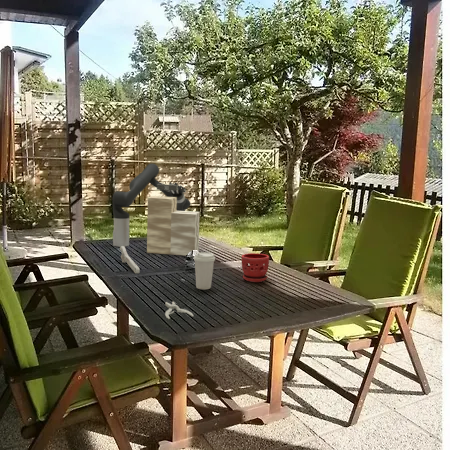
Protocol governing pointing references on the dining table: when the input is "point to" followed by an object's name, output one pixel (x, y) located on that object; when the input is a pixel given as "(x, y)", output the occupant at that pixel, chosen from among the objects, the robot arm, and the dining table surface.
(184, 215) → the step stand
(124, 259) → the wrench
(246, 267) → the plant pot
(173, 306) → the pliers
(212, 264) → the coffee cup
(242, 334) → the dining table surface
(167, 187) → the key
